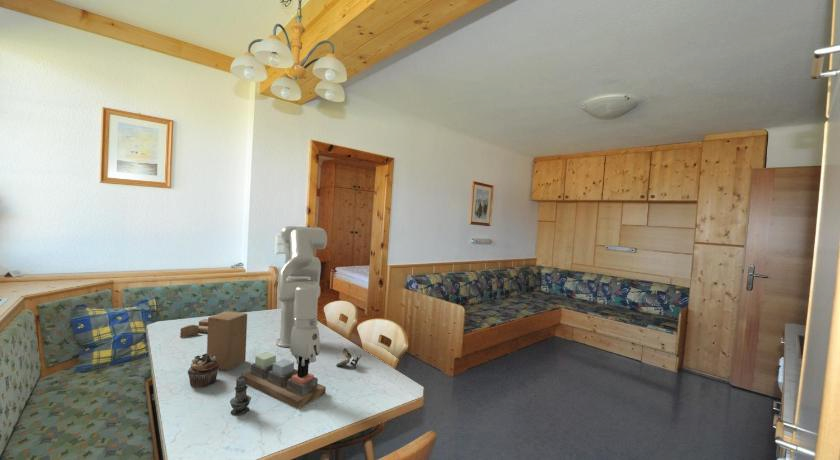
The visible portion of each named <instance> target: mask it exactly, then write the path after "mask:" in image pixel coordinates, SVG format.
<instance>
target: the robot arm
mask: <svg viewBox="0 0 840 460" xmlns="http://www.w3.org/2000/svg"><path fill="white" fill-rule="evenodd" d="M280 234H281V239H282V241H283V243H284V246H285V259H284V260H285V261H284V265H283V267H282V268H281V269H280V271H279V274H278V277H277V297H278V300H279V301H280V303H281V305H280V307H281V309H280V310H281V311H280V328H279V329H280V331H279V332H280V333H279V338H278V339H276V342H275V343H276V345H277V346H278V347H280V348H281V347H282V348H289V351H290V353H291V356H293V357H294V358H295V360H296V365H297V370H298V375H297V376H298V377H300V378H302V377H304V376H306V375H308V373H309V368H310V367H309V365H310V364H311V363H315V362H317V356H319V355H320V351H321V345H320V344H321V343H320V342H321V340H320V331H319V329H320V328H319V327H318V303H319V302H318V301H319V298H320V296H321V290H322V289H321V286H320V281H321V279H320V278H321V272H322V271H321V270H322V265H321V264H322V263H321V260H320V258H319V257H317V256H314V250H324V249H325V248H326V247H327V244H328V236H327V235H328V234H327V232H326V231H325V229H323V228H322V227H311V226H284V227H283V228H282V229H281V232H280Z"/></svg>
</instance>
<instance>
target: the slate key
mask: <svg viewBox="0 0 840 460" xmlns="http://www.w3.org/2000/svg"><path fill="white" fill-rule="evenodd" d="M294 369H295V361H292V360H289V359H286V358H284V359H280V360H278V361H276V362H275V363H273V373H275V374H277V375H279V376H284V375H286V374H289V373H291V372H293V371H294Z"/></svg>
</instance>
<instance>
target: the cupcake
mask: <svg viewBox="0 0 840 460" xmlns="http://www.w3.org/2000/svg"><path fill="white" fill-rule="evenodd" d="M219 370H220V369H219V365H218V362H217V360H216V357H215V356H213V355H212V356H208V354H207V352H206V353H203V354H202V355H196V356H194V357H193V358H192V359H191V364H190V367H189V369H188V370H187V375H188V379H189V386H190V387H193V388H199V389H200V388H205V387H209V386H212V385H213V384H215V383H216V382H217V381H216V380H217V377H218V373H219Z"/></svg>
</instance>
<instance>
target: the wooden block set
mask: <svg viewBox="0 0 840 460" xmlns="http://www.w3.org/2000/svg"><path fill="white" fill-rule="evenodd" d="M179 333H180V334H179V335H180V336H179V337H180V338H186V337H191V336H196V335H197V336H198V335H199V333H201V334H202V333H203V334H208V318H203V319H200V320H198V325H196V324H188V325H186V326H184V327H181V328H180V332H179Z"/></svg>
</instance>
